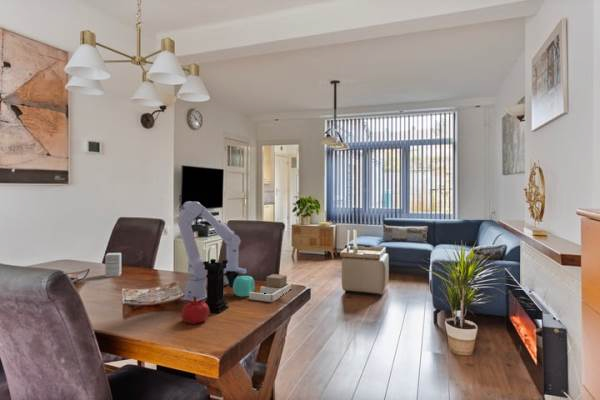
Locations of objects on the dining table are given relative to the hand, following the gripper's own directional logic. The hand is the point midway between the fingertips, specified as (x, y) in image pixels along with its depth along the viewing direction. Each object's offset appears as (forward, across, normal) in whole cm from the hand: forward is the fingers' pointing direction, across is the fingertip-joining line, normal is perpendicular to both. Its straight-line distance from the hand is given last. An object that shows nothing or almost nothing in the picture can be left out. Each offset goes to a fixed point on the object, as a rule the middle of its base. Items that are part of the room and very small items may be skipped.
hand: (231, 287), depth 170 cm
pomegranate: (+3, -8, +39) cm, 40 cm away
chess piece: (+3, -8, +25) cm, 26 cm away
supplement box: (+3, +81, -4) cm, 82 cm away
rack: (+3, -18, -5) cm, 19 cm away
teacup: (+3, +13, -13) cm, 19 cm away
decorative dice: (+3, -7, 0) cm, 7 cm away
